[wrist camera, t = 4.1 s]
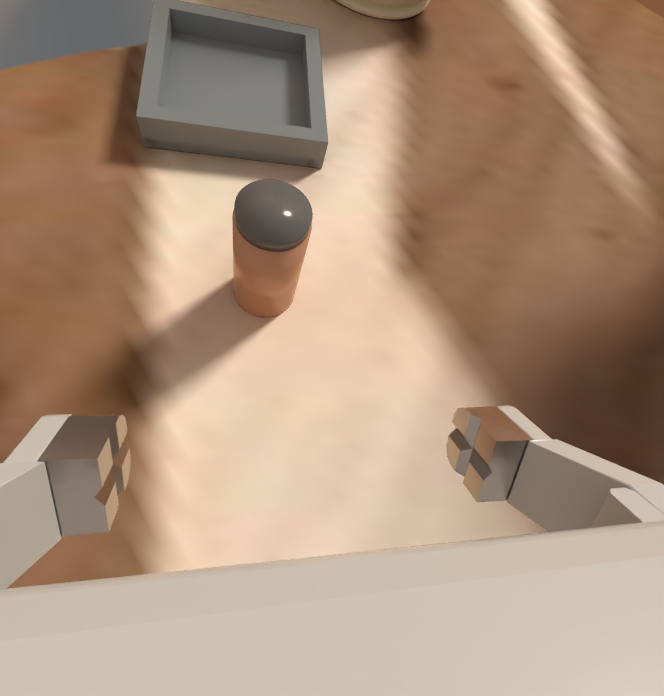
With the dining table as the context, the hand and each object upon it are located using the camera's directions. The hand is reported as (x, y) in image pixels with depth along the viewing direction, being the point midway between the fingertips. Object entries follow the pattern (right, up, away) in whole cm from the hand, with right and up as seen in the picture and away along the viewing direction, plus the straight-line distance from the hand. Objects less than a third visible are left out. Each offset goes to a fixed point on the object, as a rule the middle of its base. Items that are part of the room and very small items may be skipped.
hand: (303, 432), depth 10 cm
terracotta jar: (-4, +6, +17) cm, 18 cm away
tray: (-7, +23, +23) cm, 33 cm away
